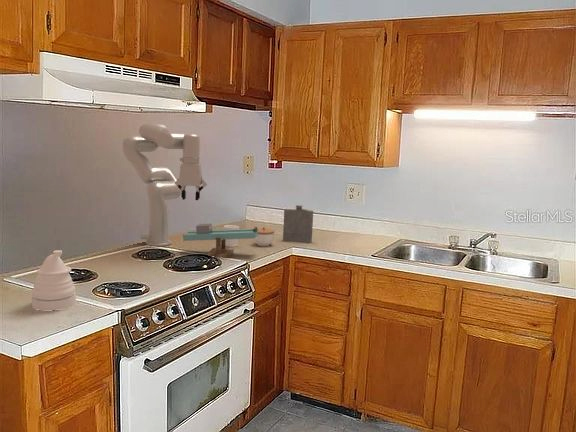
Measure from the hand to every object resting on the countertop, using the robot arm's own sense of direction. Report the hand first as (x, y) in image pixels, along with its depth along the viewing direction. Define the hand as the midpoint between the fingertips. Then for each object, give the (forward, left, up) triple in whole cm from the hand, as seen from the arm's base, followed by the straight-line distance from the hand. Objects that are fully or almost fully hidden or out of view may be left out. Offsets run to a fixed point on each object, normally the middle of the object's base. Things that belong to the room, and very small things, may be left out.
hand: (190, 199), depth 241 cm
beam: (+15, 0, -19) cm, 24 cm away
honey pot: (-22, -82, -26) cm, 89 cm away
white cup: (+16, +20, -26) cm, 36 cm away
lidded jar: (+32, +26, -26) cm, 49 cm away
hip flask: (+49, +40, -26) cm, 68 cm away
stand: (+15, 0, -26) cm, 30 cm away
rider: (+7, 0, -16) cm, 18 cm away
